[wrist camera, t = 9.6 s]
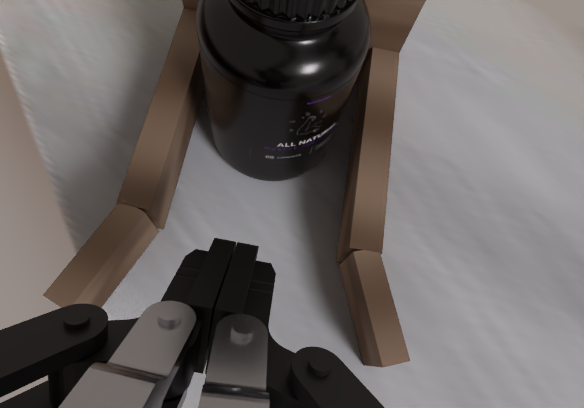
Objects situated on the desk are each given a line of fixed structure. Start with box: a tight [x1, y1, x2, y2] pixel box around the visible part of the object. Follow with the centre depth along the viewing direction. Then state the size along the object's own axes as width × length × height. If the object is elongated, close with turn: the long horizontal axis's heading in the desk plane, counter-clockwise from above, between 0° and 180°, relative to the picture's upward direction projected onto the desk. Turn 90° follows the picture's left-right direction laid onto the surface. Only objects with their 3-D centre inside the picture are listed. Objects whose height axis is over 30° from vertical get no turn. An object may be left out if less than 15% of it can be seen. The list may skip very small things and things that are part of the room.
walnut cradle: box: [43, 0, 426, 367], centre depth 19 cm, size 18×15×8 cm
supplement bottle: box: [196, 0, 371, 181], centre depth 18 cm, size 7×7×12 cm
